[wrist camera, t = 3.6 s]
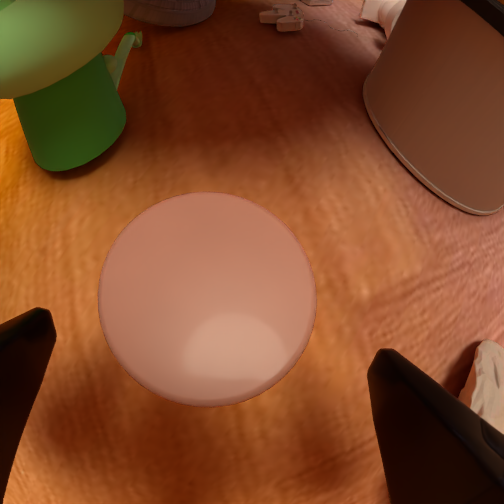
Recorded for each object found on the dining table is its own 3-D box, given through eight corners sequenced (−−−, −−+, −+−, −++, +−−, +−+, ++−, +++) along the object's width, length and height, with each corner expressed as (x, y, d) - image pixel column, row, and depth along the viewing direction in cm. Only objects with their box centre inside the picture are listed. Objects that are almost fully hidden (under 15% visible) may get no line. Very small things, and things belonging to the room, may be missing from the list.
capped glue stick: (223, 375, 15) (261, 445, 2) (184, 355, 15) (59, 333, 3) (242, 337, 15) (348, 243, 3) (203, 317, 15) (166, 159, 3)
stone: (447, 339, 19) (361, 517, 10) (497, 306, 15) (433, 523, 6) (494, 391, 18) (431, 552, 8) (541, 366, 13) (495, 553, 4)
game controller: (251, 14, 27) (254, -4, 25) (333, 17, 30) (338, 2, 27) (271, 35, 25) (275, 15, 23) (357, 38, 28) (364, 22, 26)
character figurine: (458, 18, 20) (414, -7, 26) (393, -12, 19) (357, -27, 26) (436, 71, 28) (400, 37, 34) (374, 50, 27) (345, 21, 33)
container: (477, 259, 19) (622, 164, 5) (319, 89, 22) (376, -65, 8) (518, 168, 24) (590, 99, 10) (412, 58, 28) (459, -27, 14)
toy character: (154, 48, 24) (148, -64, 13) (139, 182, 17) (92, -32, 5) (67, 66, 23) (44, -36, 11) (12, 206, 16) (-82, 60, 4)
